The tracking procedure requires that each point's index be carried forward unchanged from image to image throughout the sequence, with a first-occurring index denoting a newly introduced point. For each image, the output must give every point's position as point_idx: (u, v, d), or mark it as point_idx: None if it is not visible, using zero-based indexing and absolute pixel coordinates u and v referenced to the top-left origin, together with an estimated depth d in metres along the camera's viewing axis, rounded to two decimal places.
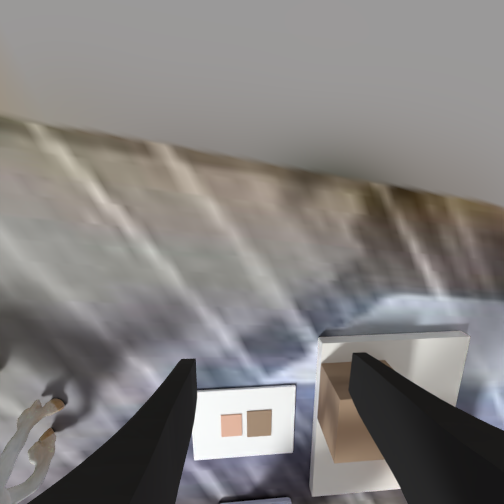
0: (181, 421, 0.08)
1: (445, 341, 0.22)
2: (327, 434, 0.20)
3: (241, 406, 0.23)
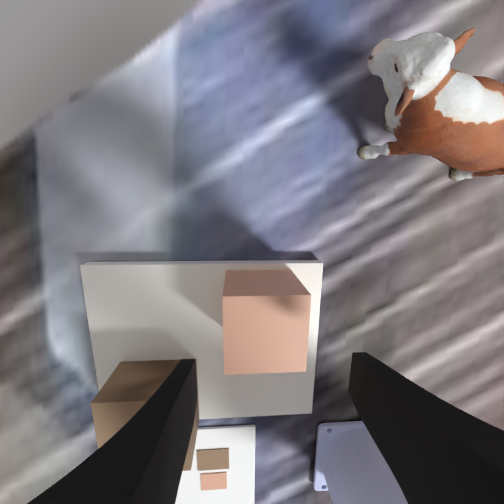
0: (181, 421, 0.08)
1: (89, 296, 0.18)
2: None
3: (191, 474, 0.23)
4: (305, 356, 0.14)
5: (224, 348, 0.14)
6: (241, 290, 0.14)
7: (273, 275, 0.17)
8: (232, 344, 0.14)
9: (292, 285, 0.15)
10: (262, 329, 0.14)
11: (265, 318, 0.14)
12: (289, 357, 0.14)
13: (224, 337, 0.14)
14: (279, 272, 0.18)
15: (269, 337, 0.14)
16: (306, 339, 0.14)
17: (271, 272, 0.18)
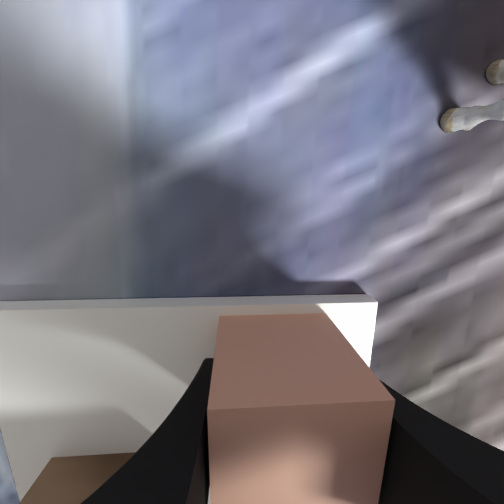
0: None
1: None
2: None
3: None
4: None
5: None
6: (247, 382, 0.07)
7: (300, 329, 0.10)
8: (228, 496, 0.07)
9: (343, 362, 0.08)
10: (291, 467, 0.07)
11: (297, 447, 0.07)
12: None
13: (212, 485, 0.07)
14: (308, 320, 0.11)
15: (304, 481, 0.07)
16: (378, 480, 0.07)
17: (295, 320, 0.11)
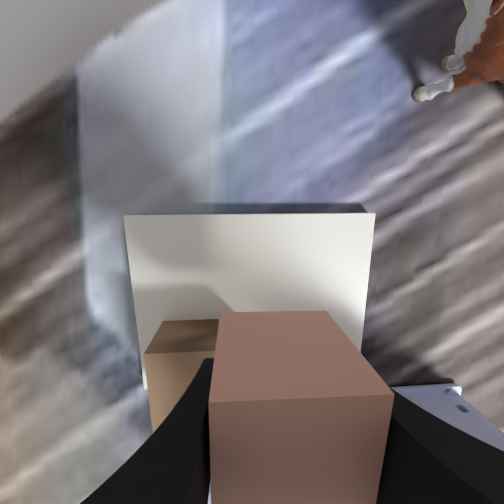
0: None
1: (132, 249, 0.17)
2: None
3: None
4: (373, 503, 0.07)
5: (213, 496, 0.07)
6: (248, 376, 0.07)
7: (301, 326, 0.10)
8: (229, 489, 0.07)
9: (343, 357, 0.08)
10: (291, 460, 0.07)
11: (297, 440, 0.07)
12: None
13: (213, 477, 0.07)
14: (309, 317, 0.11)
15: (304, 474, 0.07)
16: (377, 474, 0.07)
17: (295, 317, 0.11)
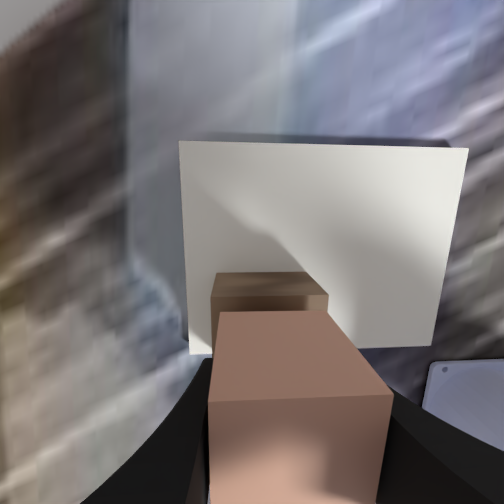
0: None
1: (187, 183, 0.14)
2: None
3: None
4: (372, 503, 0.07)
5: (212, 496, 0.07)
6: (247, 376, 0.07)
7: (300, 326, 0.10)
8: (228, 488, 0.07)
9: (343, 357, 0.08)
10: (290, 460, 0.07)
11: (296, 440, 0.07)
12: None
13: (212, 477, 0.07)
14: (308, 316, 0.11)
15: (303, 474, 0.07)
16: (376, 474, 0.07)
17: (295, 317, 0.11)
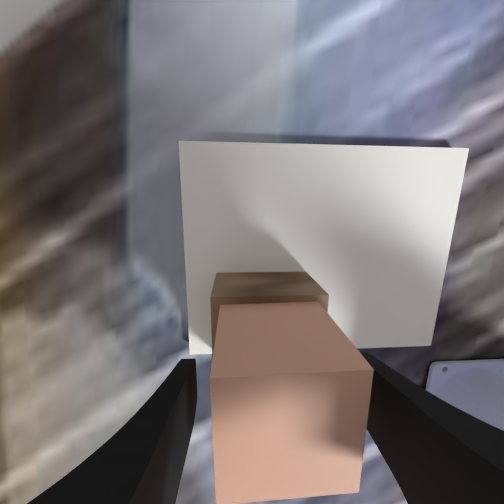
0: (181, 421, 0.08)
1: (187, 183, 0.14)
2: None
3: None
4: (358, 469, 0.08)
5: (215, 464, 0.08)
6: (245, 357, 0.08)
7: (294, 315, 0.11)
8: (229, 456, 0.08)
9: (331, 341, 0.09)
10: (284, 430, 0.08)
11: (289, 412, 0.07)
12: (330, 471, 0.08)
13: (215, 446, 0.08)
14: (302, 307, 0.12)
15: (296, 443, 0.08)
16: (361, 442, 0.08)
17: (289, 307, 0.11)
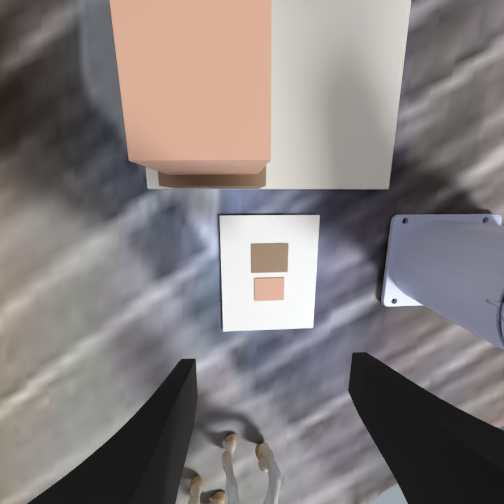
0: (181, 420, 0.08)
1: None
2: None
3: (244, 278, 0.20)
4: (268, 128, 0.08)
5: (123, 103, 0.08)
6: None
7: None
8: (136, 95, 0.08)
9: None
10: (188, 66, 0.08)
11: (191, 41, 0.08)
12: (240, 128, 0.08)
13: (121, 80, 0.08)
14: None
15: (202, 84, 0.08)
16: (268, 92, 0.08)
17: None
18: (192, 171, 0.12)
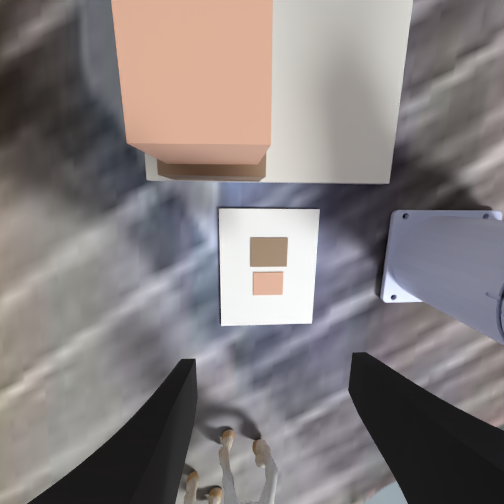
0: (181, 420, 0.08)
1: None
2: (247, 178, 0.15)
3: (243, 272, 0.20)
4: (268, 112, 0.08)
5: (122, 84, 0.08)
6: None
7: None
8: (135, 76, 0.08)
9: None
10: (188, 46, 0.08)
11: (191, 22, 0.08)
12: (239, 111, 0.08)
13: (119, 60, 0.08)
14: None
15: (202, 66, 0.08)
16: (268, 75, 0.08)
17: None
18: (191, 159, 0.12)
